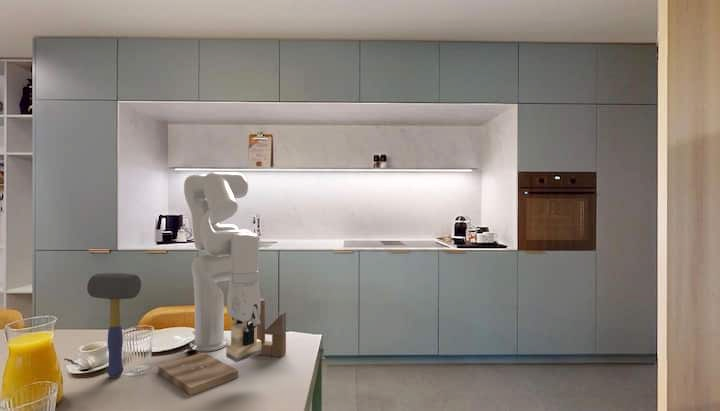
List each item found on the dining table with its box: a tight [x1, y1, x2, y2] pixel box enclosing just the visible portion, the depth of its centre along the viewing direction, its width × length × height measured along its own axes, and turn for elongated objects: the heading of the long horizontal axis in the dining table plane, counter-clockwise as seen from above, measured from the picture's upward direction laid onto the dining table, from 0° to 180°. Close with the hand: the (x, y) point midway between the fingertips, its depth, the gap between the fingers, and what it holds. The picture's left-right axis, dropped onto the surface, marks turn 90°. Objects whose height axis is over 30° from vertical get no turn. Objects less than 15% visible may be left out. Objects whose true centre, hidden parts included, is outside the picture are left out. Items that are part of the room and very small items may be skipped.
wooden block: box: [257, 297, 287, 358], centre depth 130 cm, size 4×11×18 cm, turn 78°
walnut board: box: [157, 351, 239, 396], centre depth 115 cm, size 20×14×2 cm
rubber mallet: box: [86, 272, 142, 378], centre depth 113 cm, size 12×8×30 cm, turn 84°
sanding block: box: [225, 322, 262, 363], centre depth 110 cm, size 8×5×9 cm, turn 140°
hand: (244, 341), depth 110 cm, fingers closed on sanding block, 3 cm apart
